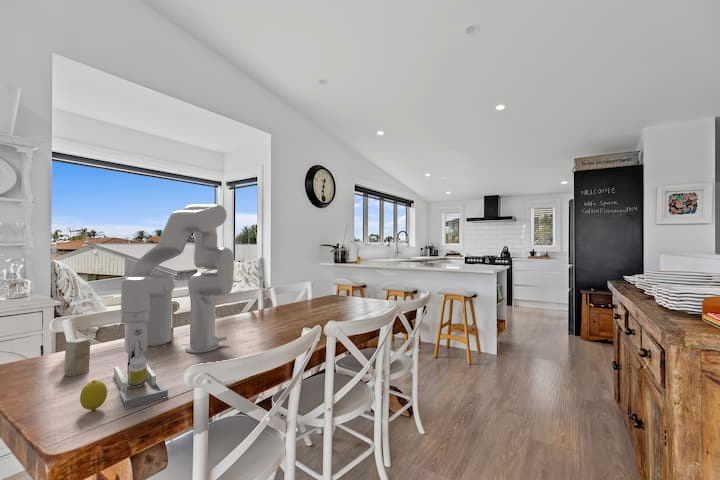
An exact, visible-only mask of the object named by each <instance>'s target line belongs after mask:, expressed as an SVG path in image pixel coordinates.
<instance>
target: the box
mask: <svg viewBox="0 0 720 480" xmlns="http://www.w3.org/2000/svg"><path fill="white" fill-rule="evenodd" d="M90 350H91V338H84V337H79V338H77V339H73V340H69V341H66V342H65V351H64V352H65V353H64V354H65V356H64V357H65V358H64V374H63V375H64V376H68V377H69V376H70V377H76V376H79V375H83V374H85V373H88V372H89V371H90V356H91V355H90V354H91V353H90V352H91V351H90Z"/></svg>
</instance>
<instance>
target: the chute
mask: <svg viewBox="0 0 720 480" xmlns="http://www.w3.org/2000/svg"><path fill="white" fill-rule="evenodd" d="M113 370H114V371H113V377H114V379H115V381H116V383H117V386H118V387H119V389H120V391H124V392H125V394H126V393H128V392H127V391H128V390H127V389H128V381H127V380H126V378H125V376H124V375H123V373H122V371H121V369H120V367H119V366H113ZM146 381H148V382H149V384H150V386H151V387H156V386H155V383H157V374H155V372H154V371H153V370H152V369H151V367H150V366H149V365H148V364H147V372H146Z"/></svg>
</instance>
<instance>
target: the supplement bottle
mask: <svg viewBox="0 0 720 480" xmlns="http://www.w3.org/2000/svg"><path fill="white" fill-rule="evenodd" d="M147 365H148V363H147V358H146V357H145V356H143V355H141V356H140V358H137V359H135V357H133V358H132V359H131V360H130V365H129V367H128V366H127V373H128V374H127V386H128V387H130V388H140V387H141V386H144V384H146V381H147V378H146V372H147Z"/></svg>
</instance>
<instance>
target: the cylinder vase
mask: <svg viewBox="0 0 720 480" xmlns="http://www.w3.org/2000/svg"><path fill="white" fill-rule="evenodd" d="M172 293H173V291H172V292H171V293H170V294H169V295H167V296H165V297H152V298H150V307H149V320H148V321H146V326H147V347H156V346H161V345H165V344H167V343H169V342H170V341H171V340H172V303H173V302H172V296H173V294H172Z"/></svg>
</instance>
